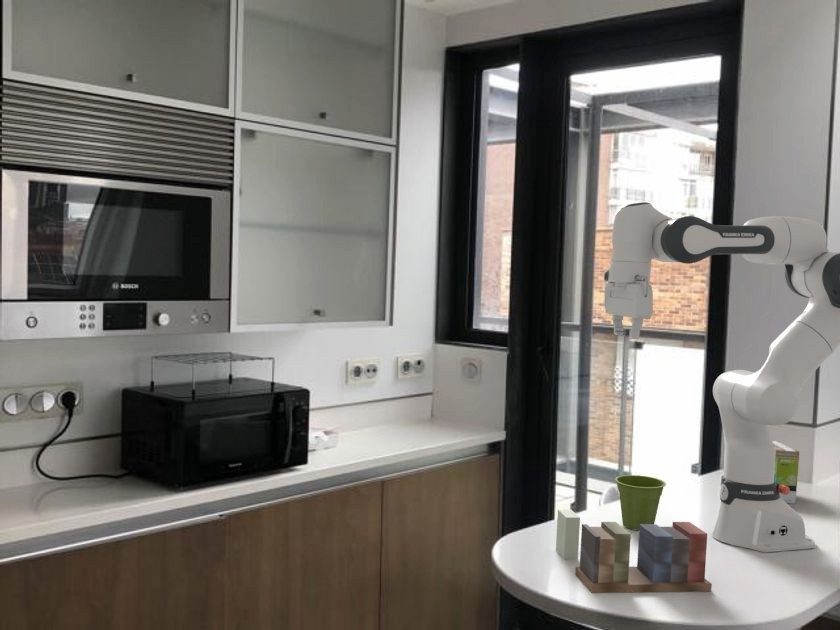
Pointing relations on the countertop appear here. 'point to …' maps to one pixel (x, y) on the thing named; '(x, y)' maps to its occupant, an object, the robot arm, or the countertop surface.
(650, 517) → the plant pot
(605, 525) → the book rack
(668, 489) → the countertop surface
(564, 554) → the pale green box
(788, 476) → the tea box
